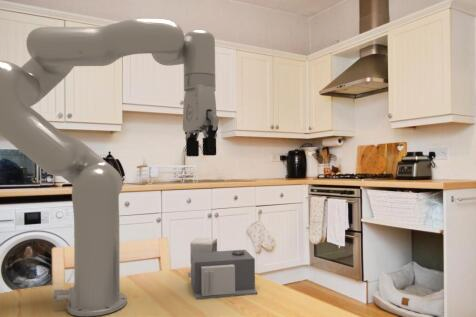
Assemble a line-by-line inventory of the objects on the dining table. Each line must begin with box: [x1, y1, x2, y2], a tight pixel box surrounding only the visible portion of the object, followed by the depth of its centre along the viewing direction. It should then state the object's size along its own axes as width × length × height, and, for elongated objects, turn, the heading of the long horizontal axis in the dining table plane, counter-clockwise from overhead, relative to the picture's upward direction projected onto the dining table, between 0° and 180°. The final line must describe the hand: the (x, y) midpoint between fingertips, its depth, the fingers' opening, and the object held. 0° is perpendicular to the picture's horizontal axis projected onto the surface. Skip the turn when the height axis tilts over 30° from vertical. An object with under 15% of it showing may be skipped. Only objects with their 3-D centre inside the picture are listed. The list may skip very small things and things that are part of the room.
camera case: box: [190, 249, 258, 300], centre depth 95 cm, size 15×12×9 cm
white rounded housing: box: [187, 237, 218, 278], centre depth 107 cm, size 6×7×10 cm
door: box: [201, 264, 235, 296], centre depth 90 cm, size 8×2×6 cm, turn 102°
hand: (200, 155), depth 89 cm, fingers open, 9 cm apart
